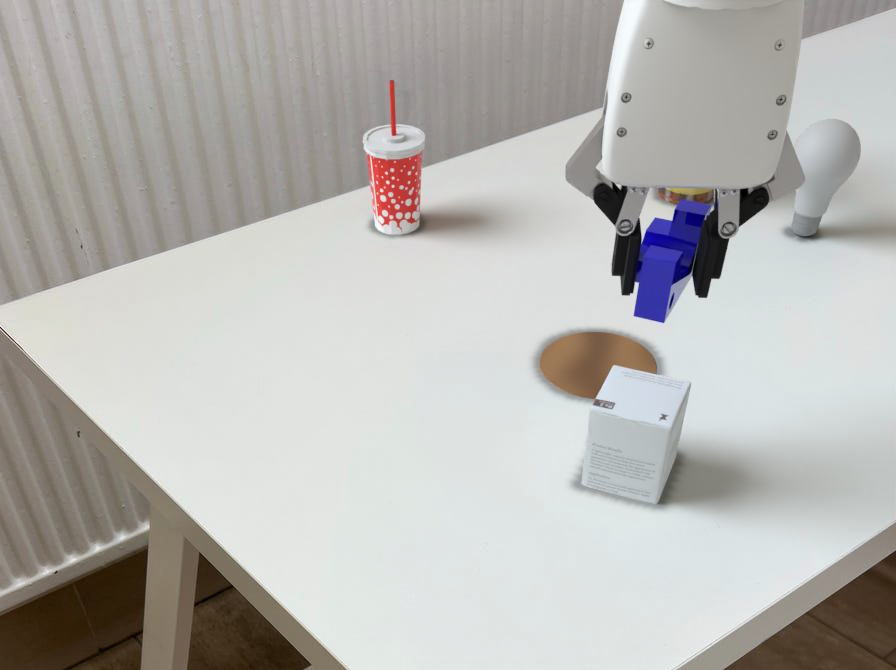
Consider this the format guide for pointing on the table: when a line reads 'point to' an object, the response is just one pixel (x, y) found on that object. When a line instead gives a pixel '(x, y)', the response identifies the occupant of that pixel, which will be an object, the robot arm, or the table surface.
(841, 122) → the lightbulb
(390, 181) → the beverage cup
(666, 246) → the cable holder
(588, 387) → the cork coaster
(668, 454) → the white cardboard box
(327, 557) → the table surface
